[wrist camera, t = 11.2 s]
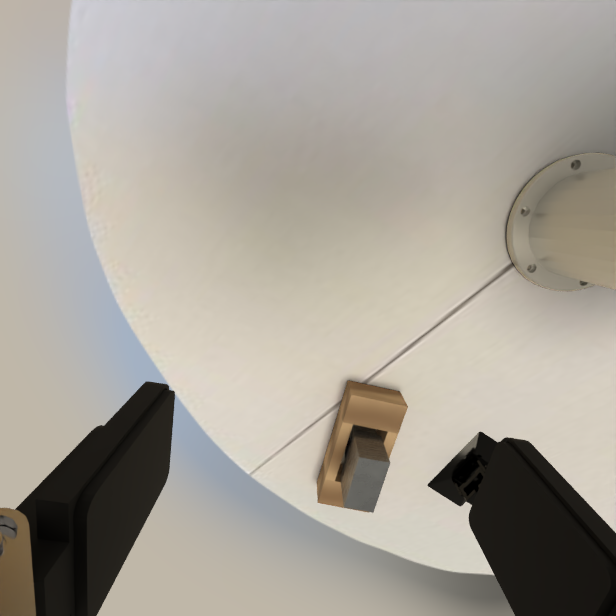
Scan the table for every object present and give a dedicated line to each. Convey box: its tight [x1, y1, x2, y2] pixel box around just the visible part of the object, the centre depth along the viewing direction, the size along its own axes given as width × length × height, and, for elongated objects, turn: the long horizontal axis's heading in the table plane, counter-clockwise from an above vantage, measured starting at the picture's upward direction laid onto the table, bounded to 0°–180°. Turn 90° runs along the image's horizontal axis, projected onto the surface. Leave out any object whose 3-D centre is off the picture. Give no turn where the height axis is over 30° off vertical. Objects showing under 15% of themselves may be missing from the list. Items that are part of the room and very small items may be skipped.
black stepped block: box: [428, 432, 498, 506], centre depth 39 cm, size 12×7×5 cm, turn 145°
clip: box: [340, 424, 390, 512], centre depth 36 cm, size 6×3×7 cm, turn 168°
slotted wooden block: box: [317, 381, 408, 512], centre depth 38 cm, size 14×6×3 cm, turn 166°
